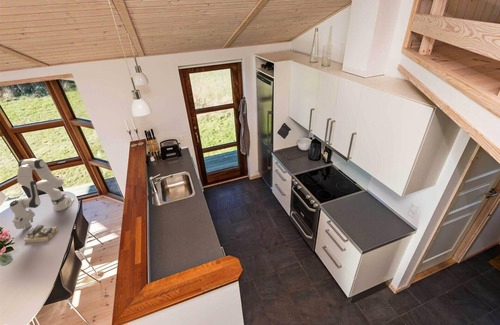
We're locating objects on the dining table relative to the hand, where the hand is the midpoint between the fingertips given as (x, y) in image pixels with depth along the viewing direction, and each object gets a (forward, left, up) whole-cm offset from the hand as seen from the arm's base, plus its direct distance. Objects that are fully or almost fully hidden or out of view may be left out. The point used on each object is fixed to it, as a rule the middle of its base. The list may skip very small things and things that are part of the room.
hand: (28, 225), depth 244 cm
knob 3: (+1, +14, -14) cm, 20 cm away
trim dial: (+7, +4, -10) cm, 13 cm away
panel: (+1, +7, -14) cm, 16 cm away
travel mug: (-13, -17, -15) cm, 26 cm away
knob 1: (+1, 0, -14) cm, 14 cm away
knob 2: (+1, +7, -10) cm, 13 cm away
